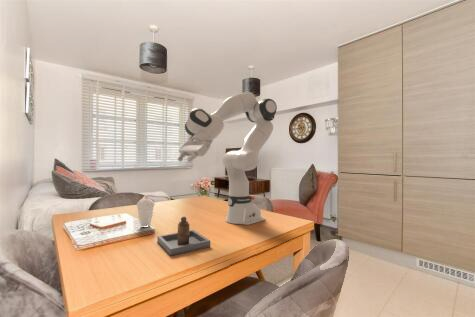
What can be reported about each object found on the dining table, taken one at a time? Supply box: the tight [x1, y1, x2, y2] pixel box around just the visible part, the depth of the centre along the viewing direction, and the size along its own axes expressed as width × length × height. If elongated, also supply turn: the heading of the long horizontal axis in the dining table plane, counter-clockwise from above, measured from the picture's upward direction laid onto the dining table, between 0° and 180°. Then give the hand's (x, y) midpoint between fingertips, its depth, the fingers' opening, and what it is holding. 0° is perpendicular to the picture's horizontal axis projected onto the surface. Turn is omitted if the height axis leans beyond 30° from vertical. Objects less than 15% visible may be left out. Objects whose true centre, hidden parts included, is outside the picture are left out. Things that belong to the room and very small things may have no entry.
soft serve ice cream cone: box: [136, 194, 156, 227], centre depth 119 cm, size 8×8×16 cm
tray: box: [156, 229, 211, 257], centre depth 96 cm, size 16×16×2 cm
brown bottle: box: [177, 216, 190, 245], centre depth 96 cm, size 5×5×11 cm
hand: (183, 160), depth 113 cm, fingers open, 8 cm apart
